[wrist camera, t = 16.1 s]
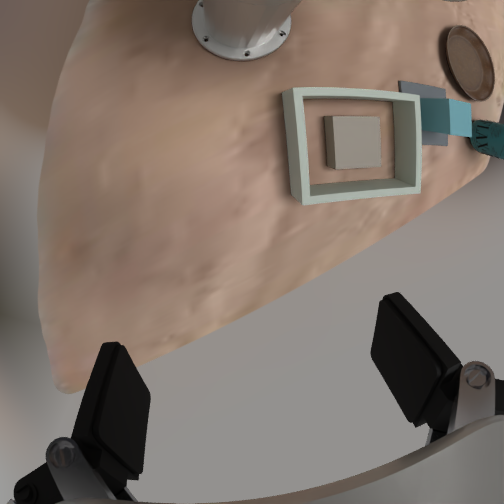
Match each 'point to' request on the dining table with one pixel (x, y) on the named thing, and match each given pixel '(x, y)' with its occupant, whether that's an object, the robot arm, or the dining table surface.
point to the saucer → (470, 63)
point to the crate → (354, 145)
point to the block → (446, 116)
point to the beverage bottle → (488, 138)
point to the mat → (426, 92)
